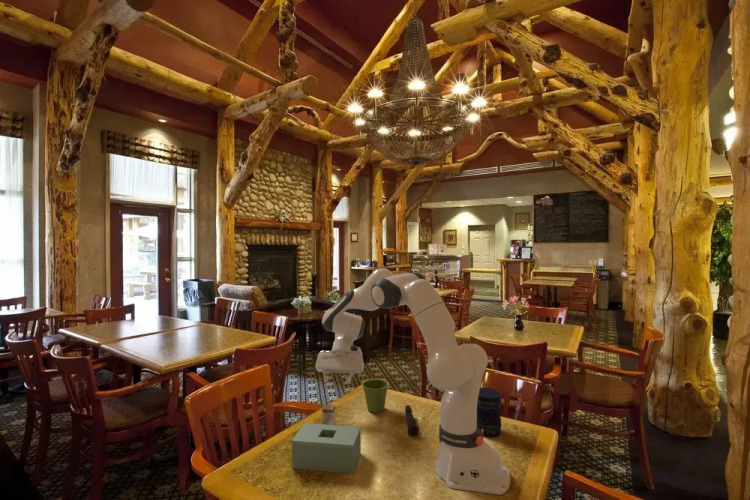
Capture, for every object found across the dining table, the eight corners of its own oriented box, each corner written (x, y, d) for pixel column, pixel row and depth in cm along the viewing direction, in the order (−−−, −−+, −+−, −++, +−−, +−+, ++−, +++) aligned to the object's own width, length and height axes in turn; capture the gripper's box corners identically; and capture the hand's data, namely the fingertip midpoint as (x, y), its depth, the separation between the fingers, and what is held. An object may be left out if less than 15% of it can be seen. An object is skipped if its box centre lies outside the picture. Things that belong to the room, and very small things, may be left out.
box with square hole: (360, 453, 132) (360, 427, 132) (353, 473, 121) (353, 445, 120) (304, 448, 135) (304, 423, 135) (292, 468, 124) (291, 440, 123)
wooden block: (335, 431, 148) (335, 405, 148) (332, 436, 144) (332, 409, 144) (325, 430, 148) (325, 404, 148) (322, 435, 144) (322, 409, 144)
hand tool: (418, 437, 144) (418, 424, 144) (408, 437, 144) (408, 424, 144) (413, 414, 163) (413, 403, 162) (404, 414, 163) (404, 403, 162)
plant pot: (377, 401, 175) (377, 376, 175) (394, 410, 166) (394, 384, 166) (356, 408, 168) (356, 383, 167) (373, 418, 158) (373, 391, 158)
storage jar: (475, 436, 143) (475, 396, 143) (473, 424, 153) (473, 387, 152) (503, 439, 141) (503, 398, 141) (499, 426, 151) (499, 388, 151)
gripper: (317, 346, 167) (310, 376, 157) (363, 348, 164) (359, 378, 154) (320, 354, 171) (314, 384, 162) (365, 355, 168) (362, 386, 159)
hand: (336, 381), depth 158 cm, fingers open, 8 cm apart
